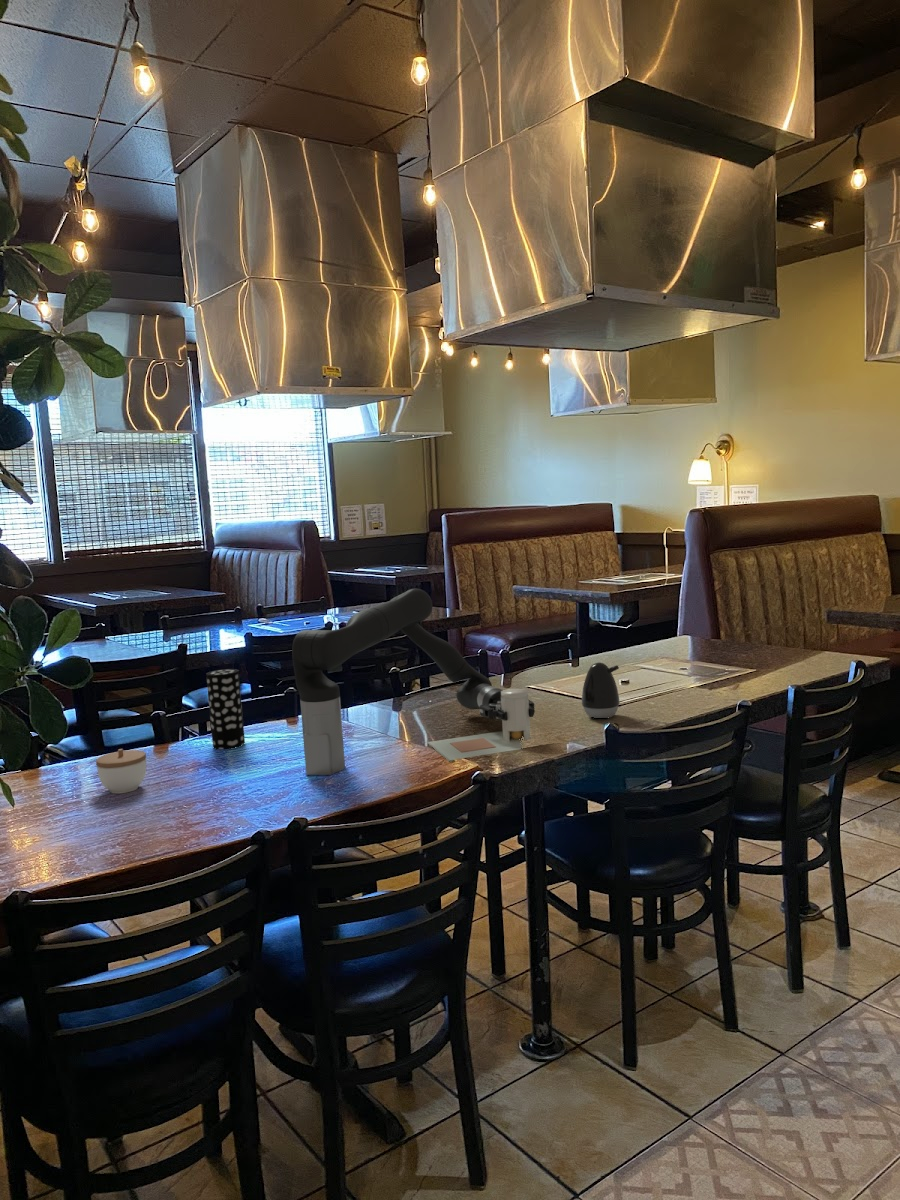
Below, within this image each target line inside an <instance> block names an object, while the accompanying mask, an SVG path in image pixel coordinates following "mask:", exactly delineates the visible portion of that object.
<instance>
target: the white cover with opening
mask: <svg viewBox="0 0 900 1200" xmlns="http://www.w3.org/2000/svg"><path fill="white" fill-rule="evenodd" d="M502 690H503V689H502ZM529 700H530V699H529V691H528V690H527V689H525V688H508V689H504V690H503V691H501V708H502V710H504V711H506V712H507V718H508V720H507V721H504V720H502V719H501V723H502V724H501V725H502V731H503V740H505V741H507V742H509V741H510V738H509V737H512V736H511V731H515V732H517V731H522V733H523V734H522V736H524V741H527V740H528V739H530V738H531V737H530V727H531V725H530V722H531V720H530V719H531V717H529Z"/></svg>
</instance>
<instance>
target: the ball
mask: <svg viewBox="0 0 900 1200" xmlns="http://www.w3.org/2000/svg"><path fill="white" fill-rule="evenodd" d="M522 734H523V733H522V731H517V732H515V731H511V736H512V737H513V738H514V739H519V738H521V736H522Z"/></svg>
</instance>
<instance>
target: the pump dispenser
mask: <svg viewBox="0 0 900 1200" xmlns="http://www.w3.org/2000/svg"><path fill="white" fill-rule="evenodd" d="M619 669H620V668H619V665H614V666H611V667H608V666H607V664H605V663H603V662H595V663H592V664H591V666H590V667H589V670H588V671H587V673H586V675H585V679H584V682H583V686H582V693H581V694H582V695H581V706H582V707H583V711H584V712H585V714H586V715H587V716H588V717H590V718H591V717H594V718H608V717H610V718H612V717H613V716H615V715H616V713H617V711H618V709H619V705H620V695H619V690H618V686H617V683H616V680H615V678H614V675H613V674H612V673H614V672H616V671H617V670H619ZM594 718H593V719H594ZM608 719H609V718H608Z"/></svg>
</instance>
